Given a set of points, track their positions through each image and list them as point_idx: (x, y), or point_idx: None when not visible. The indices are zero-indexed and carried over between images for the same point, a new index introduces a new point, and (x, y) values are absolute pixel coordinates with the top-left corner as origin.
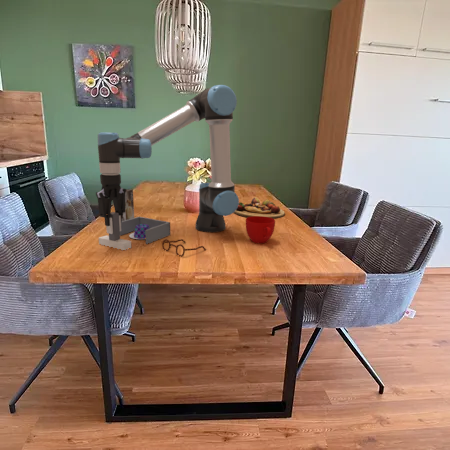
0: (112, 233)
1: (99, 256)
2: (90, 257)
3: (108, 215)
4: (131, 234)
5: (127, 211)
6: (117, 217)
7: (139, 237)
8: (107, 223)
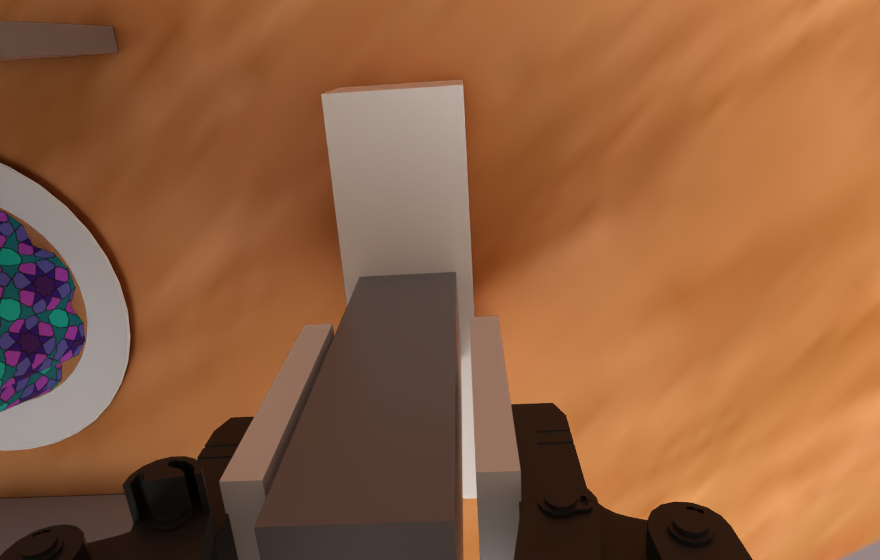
0: (480, 318)
1: (751, 158)
2: (820, 210)
3: (583, 527)
4: (53, 427)
5: None
6: (323, 455)
7: (51, 270)
8: (566, 434)
